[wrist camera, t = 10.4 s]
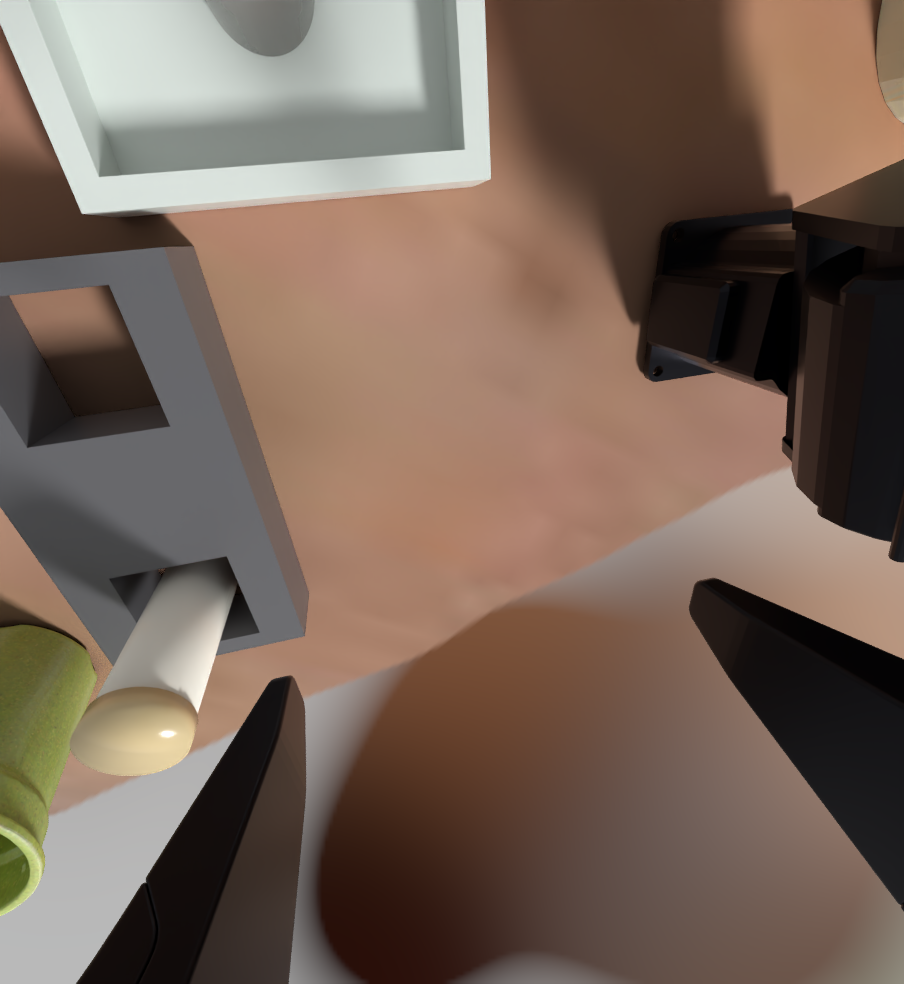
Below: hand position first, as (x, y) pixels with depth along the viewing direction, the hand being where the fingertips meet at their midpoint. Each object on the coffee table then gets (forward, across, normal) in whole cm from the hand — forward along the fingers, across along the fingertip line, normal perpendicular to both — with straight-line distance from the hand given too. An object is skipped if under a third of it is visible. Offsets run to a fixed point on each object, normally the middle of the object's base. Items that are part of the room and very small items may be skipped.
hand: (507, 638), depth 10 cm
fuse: (+12, +11, +5) cm, 17 cm away
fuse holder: (+12, +11, 0) cm, 17 cm away
